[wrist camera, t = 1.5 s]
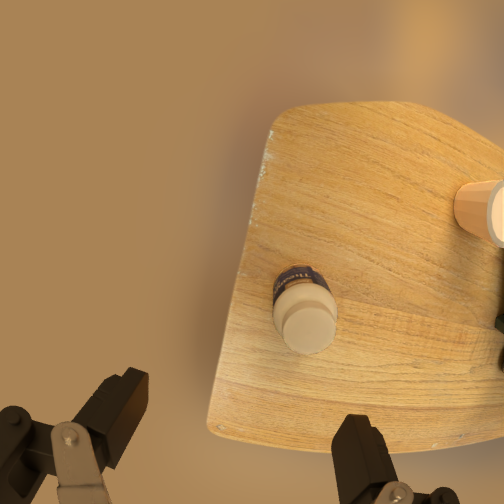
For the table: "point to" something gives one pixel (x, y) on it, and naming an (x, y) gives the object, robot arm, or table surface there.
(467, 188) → the shot glass
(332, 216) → the table surface
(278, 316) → the pill bottle
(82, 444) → the robot arm
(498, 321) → the shelf
